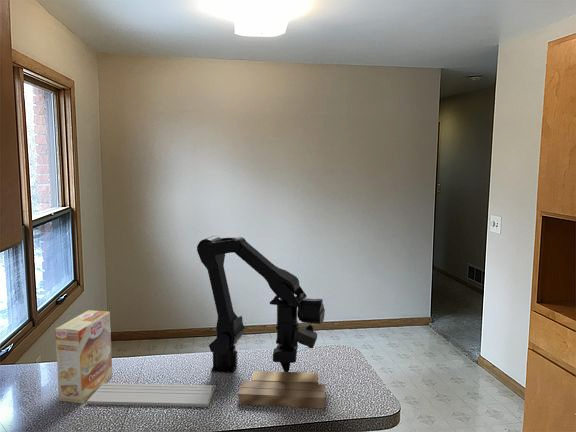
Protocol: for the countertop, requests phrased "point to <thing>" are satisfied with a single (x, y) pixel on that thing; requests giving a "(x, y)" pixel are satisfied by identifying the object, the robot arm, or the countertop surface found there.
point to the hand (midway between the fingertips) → (286, 372)
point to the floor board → (282, 394)
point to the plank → (286, 377)
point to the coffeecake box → (83, 355)
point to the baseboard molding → (153, 395)
